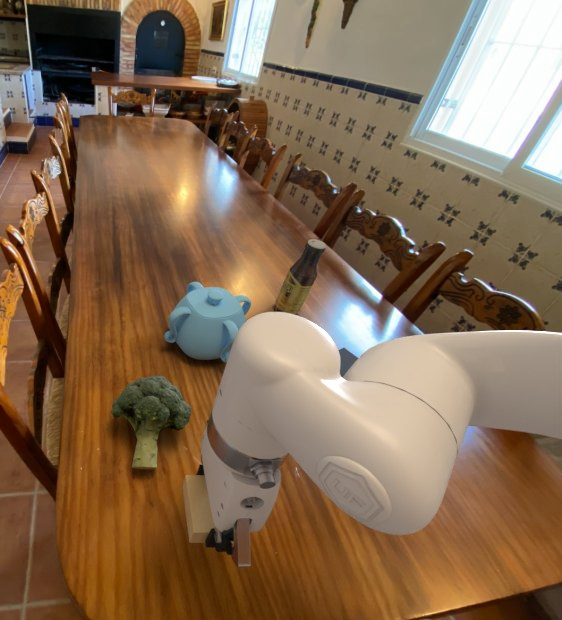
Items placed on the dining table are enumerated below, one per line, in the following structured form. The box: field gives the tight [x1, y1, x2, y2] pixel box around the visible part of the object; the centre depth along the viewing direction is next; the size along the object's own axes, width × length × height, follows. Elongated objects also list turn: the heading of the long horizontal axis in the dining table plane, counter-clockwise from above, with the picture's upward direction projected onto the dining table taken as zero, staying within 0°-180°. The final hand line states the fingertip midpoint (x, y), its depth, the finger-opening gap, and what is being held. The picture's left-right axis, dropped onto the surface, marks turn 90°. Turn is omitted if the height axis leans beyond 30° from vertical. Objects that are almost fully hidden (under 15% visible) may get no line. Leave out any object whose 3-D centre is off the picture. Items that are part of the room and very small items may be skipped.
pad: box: [181, 474, 233, 544], centre depth 44 cm, size 7×7×3 cm
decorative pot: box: [163, 281, 252, 364], centre depth 76 cm, size 16×16×14 cm
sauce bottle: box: [273, 238, 327, 316], centre depth 84 cm, size 7×6×20 cm
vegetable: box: [110, 374, 192, 471], centre depth 58 cm, size 12×13×15 cm
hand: (212, 510), depth 44 cm, fingers closed on pad, 6 cm apart
